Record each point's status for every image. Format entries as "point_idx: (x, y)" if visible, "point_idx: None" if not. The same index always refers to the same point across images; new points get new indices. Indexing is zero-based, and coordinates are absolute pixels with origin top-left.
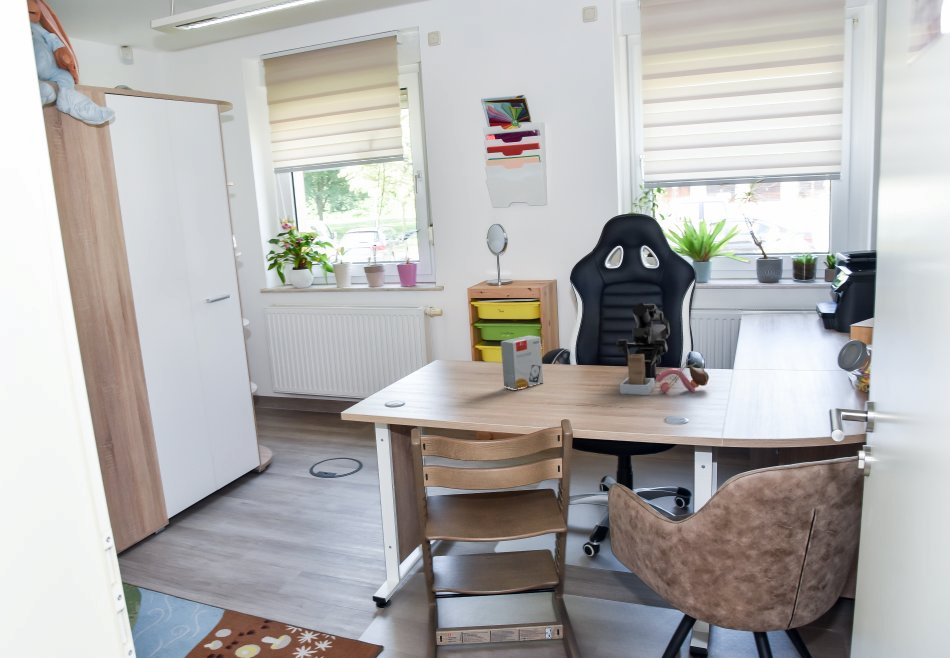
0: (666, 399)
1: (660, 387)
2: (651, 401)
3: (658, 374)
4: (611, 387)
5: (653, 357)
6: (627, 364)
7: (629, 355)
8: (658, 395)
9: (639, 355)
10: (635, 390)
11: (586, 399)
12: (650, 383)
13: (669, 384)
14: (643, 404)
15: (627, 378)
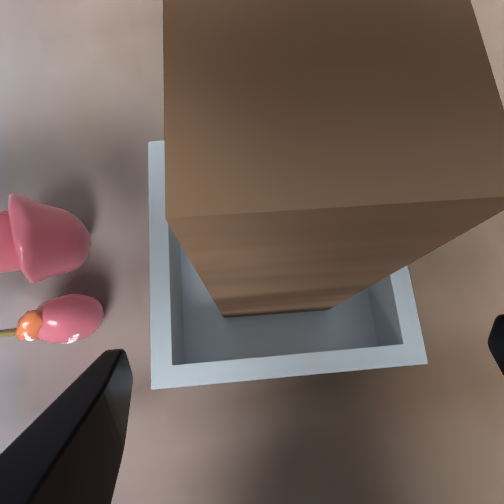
0: (33, 108)
1: (98, 301)
2: (116, 58)
3: (35, 209)
4: (498, 310)
5: (21, 447)
6: (494, 329)
7: (482, 45)
8: (98, 178)
9: (245, 71)
10: None
11: (497, 27)
12: (150, 220)
13: (14, 330)
14: (148, 5)
15: (408, 334)
